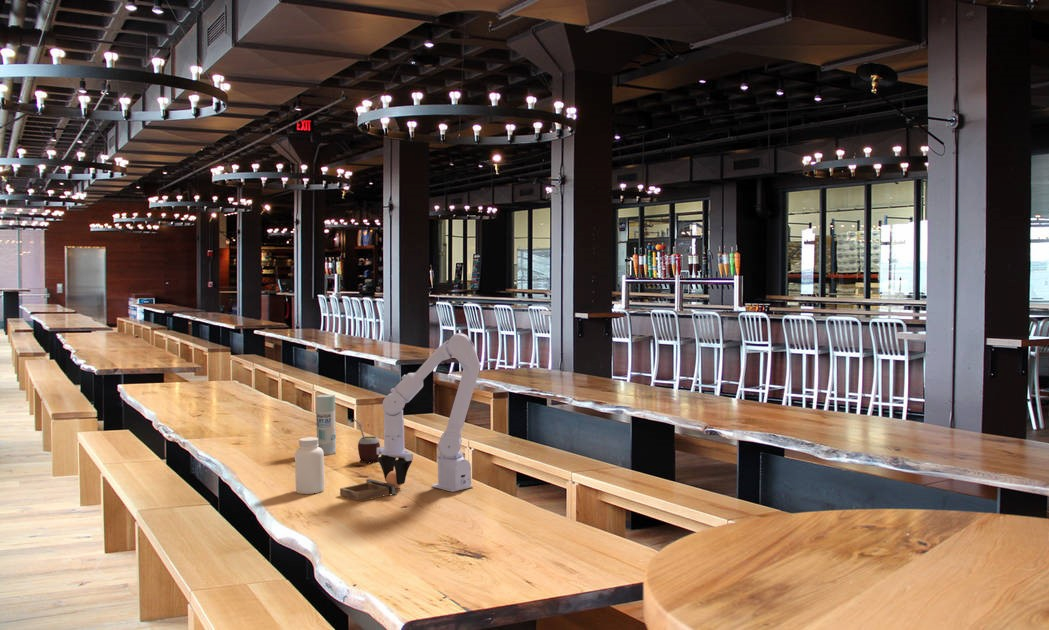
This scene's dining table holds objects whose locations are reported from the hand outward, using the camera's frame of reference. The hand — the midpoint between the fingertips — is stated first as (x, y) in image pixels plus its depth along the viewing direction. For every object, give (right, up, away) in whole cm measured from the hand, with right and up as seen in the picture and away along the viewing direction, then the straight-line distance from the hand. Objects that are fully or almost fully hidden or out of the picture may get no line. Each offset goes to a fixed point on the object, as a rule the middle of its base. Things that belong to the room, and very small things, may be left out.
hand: (394, 482), depth 249 cm
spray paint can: (-31, 0, +51) cm, 60 cm away
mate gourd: (-14, -1, +36) cm, 38 cm away
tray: (-7, -2, -8) cm, 11 cm away
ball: (0, -2, 0) cm, 2 cm away
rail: (-4, -2, -3) cm, 5 cm away
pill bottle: (-24, -2, -3) cm, 24 cm away
